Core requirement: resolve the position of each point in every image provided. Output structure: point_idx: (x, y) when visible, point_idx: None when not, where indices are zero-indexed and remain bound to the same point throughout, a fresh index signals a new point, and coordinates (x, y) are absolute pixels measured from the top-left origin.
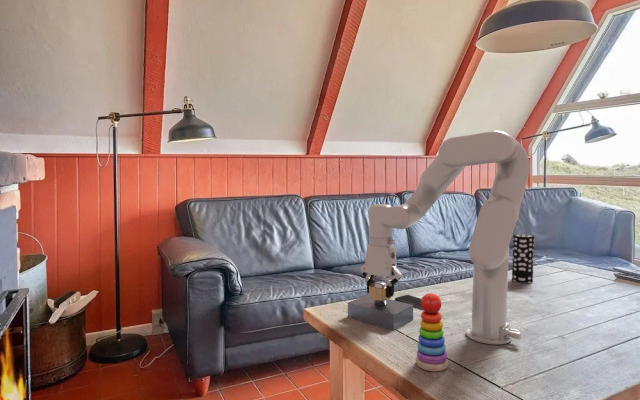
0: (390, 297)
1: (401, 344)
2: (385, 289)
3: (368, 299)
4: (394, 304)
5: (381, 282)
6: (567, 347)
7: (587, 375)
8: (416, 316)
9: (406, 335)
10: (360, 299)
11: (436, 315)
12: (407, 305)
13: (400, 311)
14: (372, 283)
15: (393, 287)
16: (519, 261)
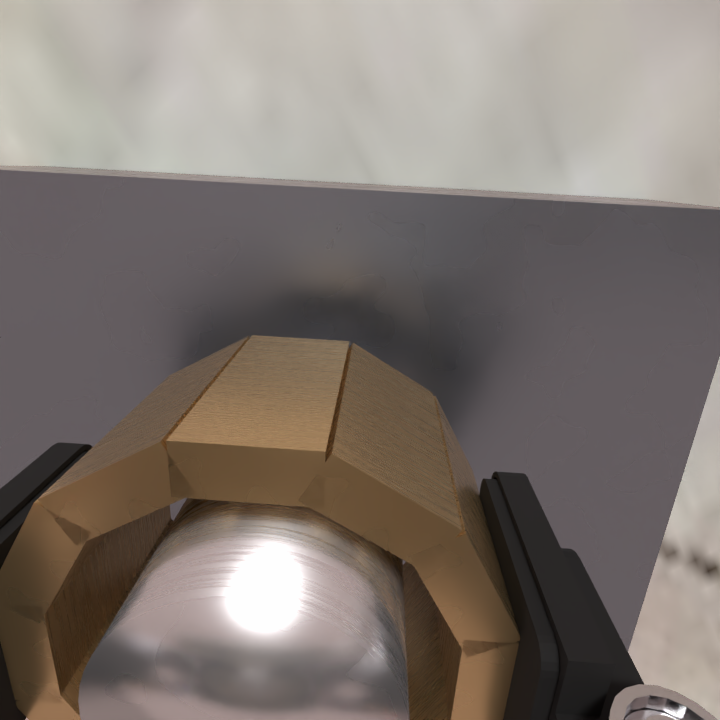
0: (471, 473)
1: (709, 694)
2: None
3: (85, 381)
4: (491, 361)
5: (229, 678)
6: None
7: None
8: (648, 59)
9: (698, 564)
10: (15, 442)
11: None
12: (680, 290)
13: (661, 537)
14: (9, 633)
15: (628, 681)
16: None
